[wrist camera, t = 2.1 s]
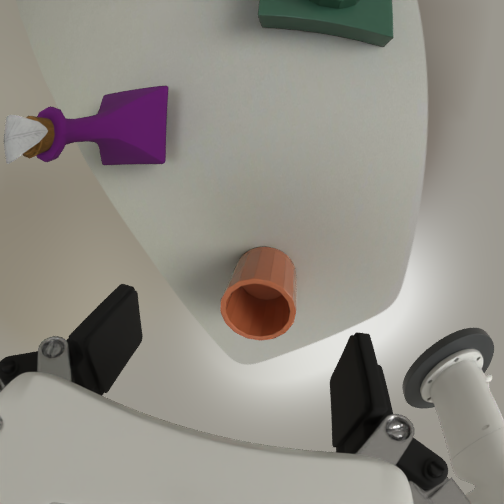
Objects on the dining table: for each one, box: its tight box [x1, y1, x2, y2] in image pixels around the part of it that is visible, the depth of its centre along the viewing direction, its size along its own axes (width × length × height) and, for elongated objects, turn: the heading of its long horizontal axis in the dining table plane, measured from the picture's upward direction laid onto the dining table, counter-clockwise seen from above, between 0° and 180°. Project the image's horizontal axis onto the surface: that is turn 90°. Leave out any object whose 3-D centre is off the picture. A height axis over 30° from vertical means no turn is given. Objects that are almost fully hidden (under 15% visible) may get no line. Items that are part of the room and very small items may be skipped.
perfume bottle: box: [4, 86, 168, 165], centre depth 17 cm, size 8×8×18 cm
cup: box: [221, 247, 296, 340], centre depth 27 cm, size 7×7×7 cm
